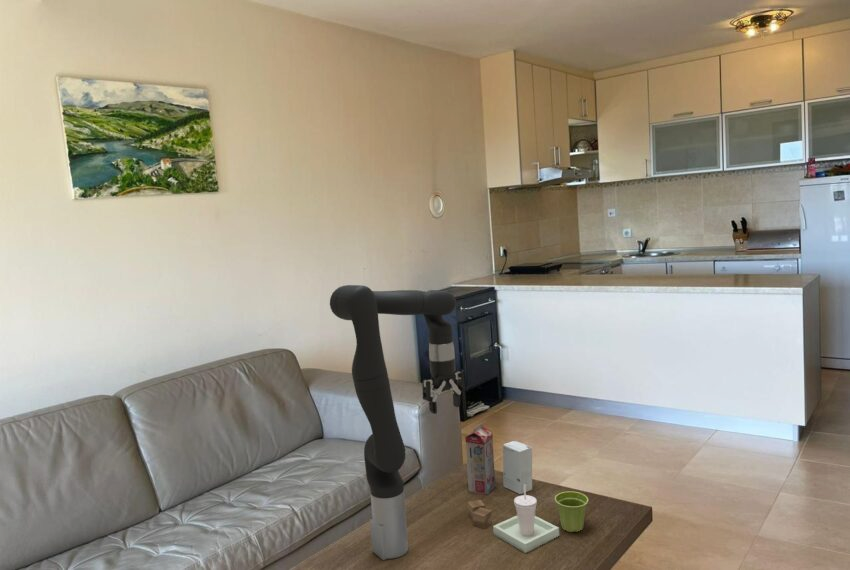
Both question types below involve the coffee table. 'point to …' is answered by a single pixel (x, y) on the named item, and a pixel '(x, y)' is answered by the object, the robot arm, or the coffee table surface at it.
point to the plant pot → (571, 510)
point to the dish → (512, 535)
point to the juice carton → (480, 460)
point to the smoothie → (526, 513)
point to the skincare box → (517, 466)
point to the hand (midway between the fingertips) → (445, 409)
